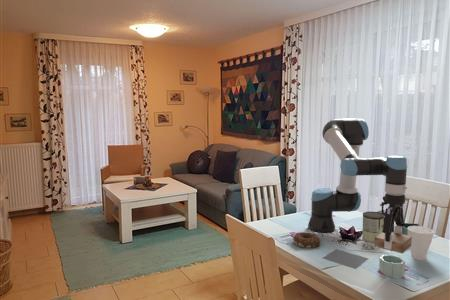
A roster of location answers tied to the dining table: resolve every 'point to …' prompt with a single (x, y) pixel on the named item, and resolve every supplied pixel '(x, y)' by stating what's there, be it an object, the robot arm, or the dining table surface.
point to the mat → (345, 258)
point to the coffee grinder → (384, 211)
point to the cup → (420, 241)
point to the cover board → (394, 242)
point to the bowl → (392, 266)
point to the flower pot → (406, 225)
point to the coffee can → (372, 226)
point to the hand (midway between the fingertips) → (392, 244)
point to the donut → (306, 240)
